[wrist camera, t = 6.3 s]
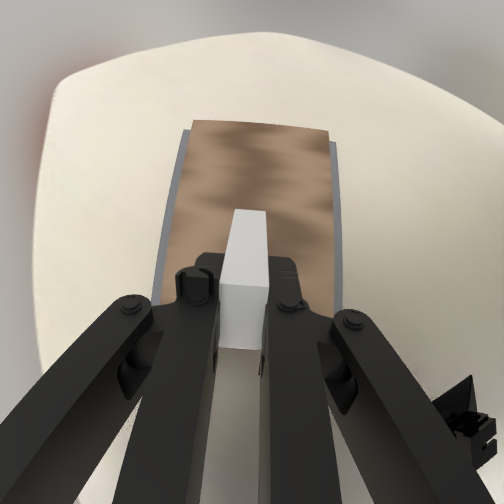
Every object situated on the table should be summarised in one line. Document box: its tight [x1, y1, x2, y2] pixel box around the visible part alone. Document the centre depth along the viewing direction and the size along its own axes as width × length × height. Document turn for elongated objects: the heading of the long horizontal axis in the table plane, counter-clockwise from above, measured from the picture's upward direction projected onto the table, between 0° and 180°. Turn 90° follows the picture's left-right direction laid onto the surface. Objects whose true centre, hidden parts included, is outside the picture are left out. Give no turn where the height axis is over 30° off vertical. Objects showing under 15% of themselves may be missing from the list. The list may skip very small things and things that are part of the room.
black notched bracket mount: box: [432, 375, 497, 470], centre depth 16 cm, size 12×7×5 cm, turn 15°
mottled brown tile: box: [160, 120, 334, 318], centre depth 20 cm, size 10×3×14 cm
